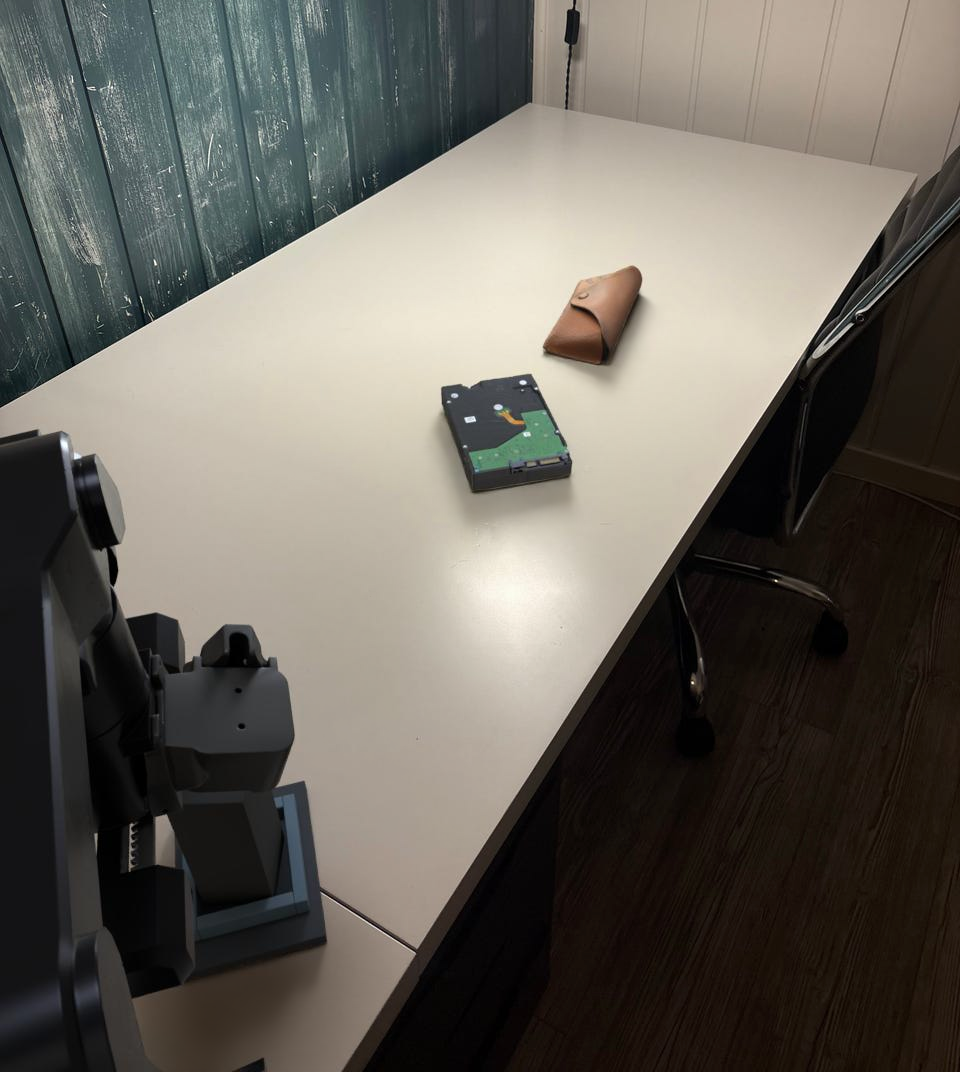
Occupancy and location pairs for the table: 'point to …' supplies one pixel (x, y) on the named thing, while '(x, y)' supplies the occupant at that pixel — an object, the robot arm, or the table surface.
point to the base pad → (265, 901)
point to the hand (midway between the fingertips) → (157, 871)
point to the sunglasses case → (595, 317)
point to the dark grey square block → (230, 844)
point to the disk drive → (505, 432)
